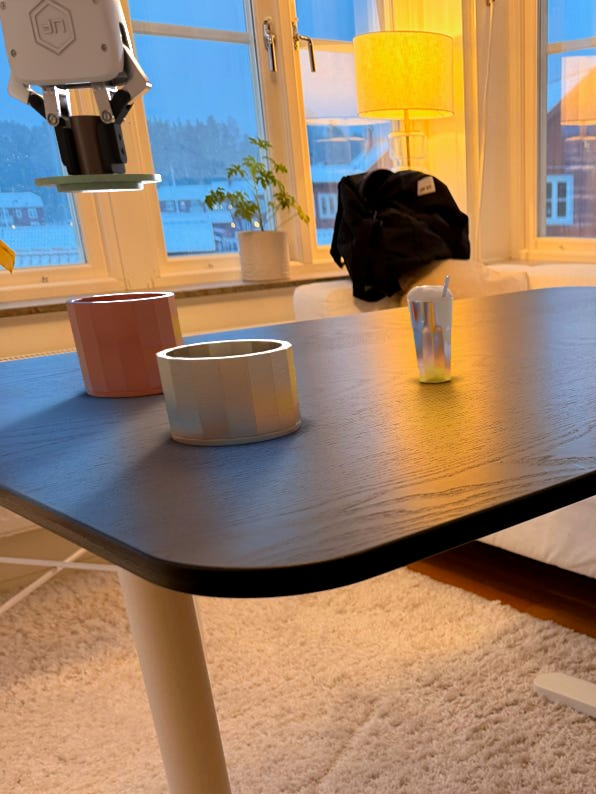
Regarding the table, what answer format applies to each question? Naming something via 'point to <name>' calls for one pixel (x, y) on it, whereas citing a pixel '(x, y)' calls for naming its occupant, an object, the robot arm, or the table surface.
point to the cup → (123, 340)
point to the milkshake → (432, 330)
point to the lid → (93, 165)
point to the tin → (230, 391)
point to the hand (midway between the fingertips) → (97, 172)
